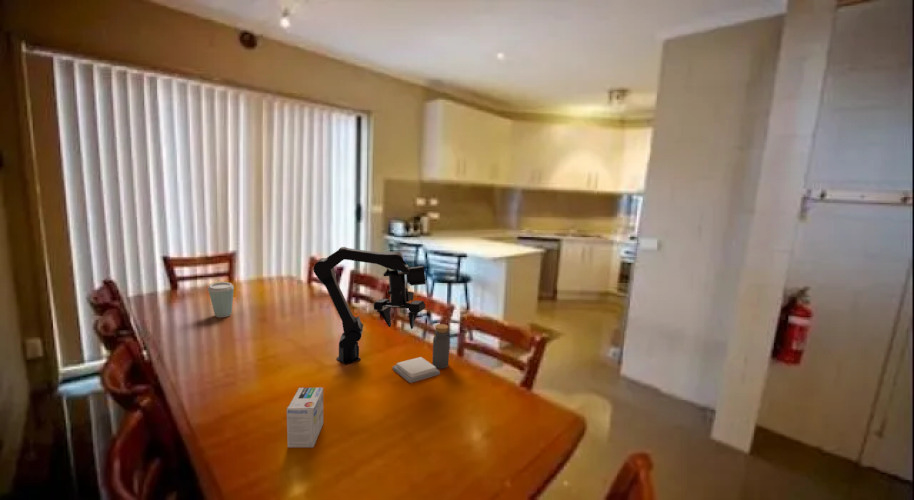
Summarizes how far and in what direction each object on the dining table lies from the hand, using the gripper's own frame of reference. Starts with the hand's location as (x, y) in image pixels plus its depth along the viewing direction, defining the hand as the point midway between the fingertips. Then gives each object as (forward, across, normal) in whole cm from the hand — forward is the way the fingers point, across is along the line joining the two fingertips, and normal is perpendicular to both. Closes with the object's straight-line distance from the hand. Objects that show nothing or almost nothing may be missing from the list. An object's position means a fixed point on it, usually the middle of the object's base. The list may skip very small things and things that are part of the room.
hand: (400, 327), depth 155 cm
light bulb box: (+11, +1, +52) cm, 53 cm away
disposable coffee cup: (+4, +97, -6) cm, 97 cm away
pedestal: (+13, -9, +7) cm, 17 cm away
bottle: (+14, -14, -1) cm, 20 cm away
